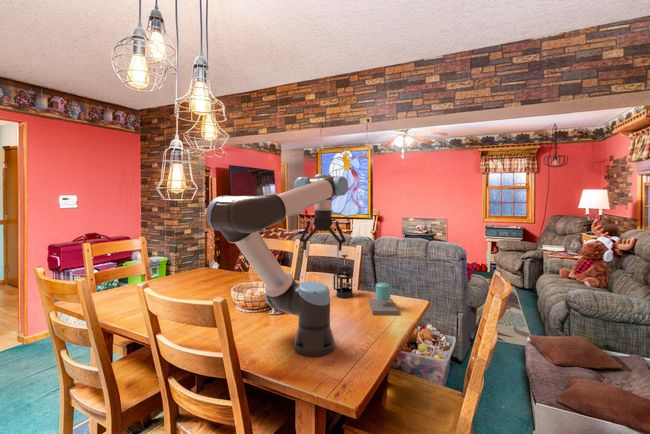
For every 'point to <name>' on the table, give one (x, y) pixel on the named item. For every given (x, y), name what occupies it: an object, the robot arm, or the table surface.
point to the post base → (383, 307)
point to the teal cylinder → (383, 291)
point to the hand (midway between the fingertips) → (322, 257)
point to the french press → (344, 288)
